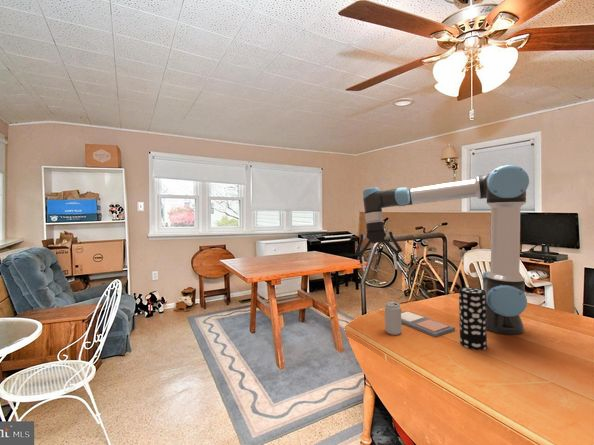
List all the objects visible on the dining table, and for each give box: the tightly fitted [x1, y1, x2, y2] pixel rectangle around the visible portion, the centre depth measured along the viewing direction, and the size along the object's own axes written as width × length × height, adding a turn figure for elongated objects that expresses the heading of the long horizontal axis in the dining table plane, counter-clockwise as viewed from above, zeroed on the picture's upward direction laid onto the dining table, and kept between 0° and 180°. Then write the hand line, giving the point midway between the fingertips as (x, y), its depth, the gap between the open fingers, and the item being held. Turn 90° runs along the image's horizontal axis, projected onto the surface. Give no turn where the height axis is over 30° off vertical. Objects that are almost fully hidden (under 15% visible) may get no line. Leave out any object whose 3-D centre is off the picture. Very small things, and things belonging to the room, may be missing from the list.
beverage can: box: [384, 301, 403, 336], centre depth 117 cm, size 6×6×12 cm
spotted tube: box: [458, 287, 488, 351], centre depth 104 cm, size 8×8×20 cm
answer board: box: [401, 310, 456, 338], centre depth 125 cm, size 24×12×2 cm, turn 28°
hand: (379, 270), depth 125 cm, fingers open, 13 cm apart
